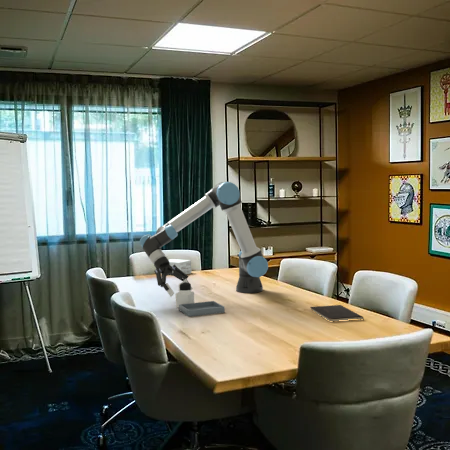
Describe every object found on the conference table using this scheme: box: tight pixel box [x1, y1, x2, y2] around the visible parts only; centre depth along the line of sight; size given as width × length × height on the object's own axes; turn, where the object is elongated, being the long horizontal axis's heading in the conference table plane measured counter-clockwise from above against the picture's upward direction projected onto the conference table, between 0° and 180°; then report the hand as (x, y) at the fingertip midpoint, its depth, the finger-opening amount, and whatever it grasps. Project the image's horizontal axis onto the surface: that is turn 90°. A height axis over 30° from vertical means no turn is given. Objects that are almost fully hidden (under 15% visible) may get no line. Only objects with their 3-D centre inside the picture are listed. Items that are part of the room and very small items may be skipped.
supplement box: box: [161, 258, 192, 275], centre depth 361 cm, size 17×13×9 cm
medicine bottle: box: [175, 281, 195, 309], centre depth 260 cm, size 7×7×12 cm
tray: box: [178, 300, 226, 317], centre depth 250 cm, size 18×14×3 cm
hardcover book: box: [310, 304, 364, 322], centre depth 239 cm, size 16×23×2 cm
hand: (181, 292), depth 260 cm, fingers open, 13 cm apart
